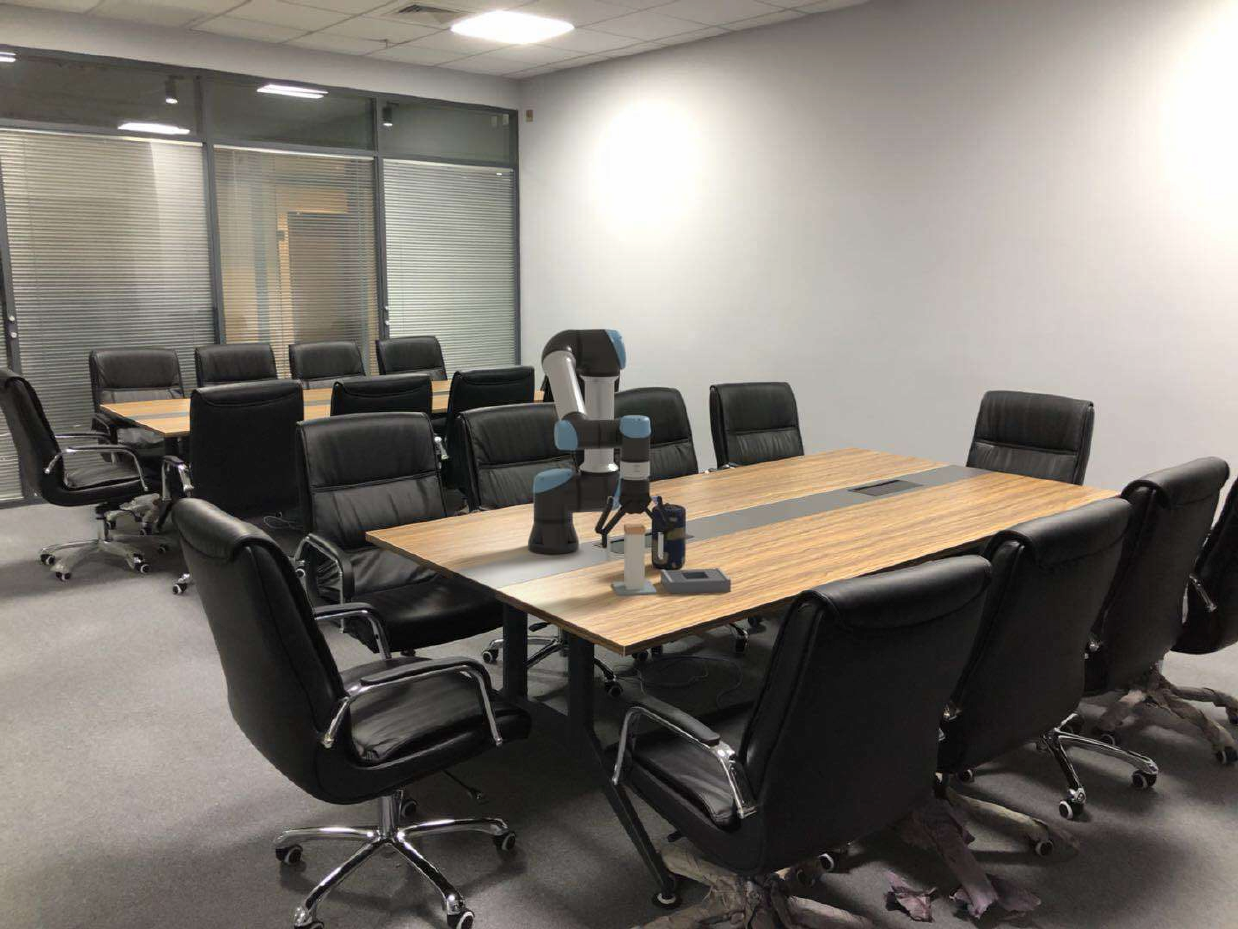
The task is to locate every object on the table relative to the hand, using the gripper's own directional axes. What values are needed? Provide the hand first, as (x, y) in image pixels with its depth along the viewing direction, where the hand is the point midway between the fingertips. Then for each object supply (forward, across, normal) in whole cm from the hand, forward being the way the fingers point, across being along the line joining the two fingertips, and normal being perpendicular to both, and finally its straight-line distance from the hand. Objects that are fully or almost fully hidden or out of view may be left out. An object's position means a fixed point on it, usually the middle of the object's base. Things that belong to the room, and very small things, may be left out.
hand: (634, 559), depth 248 cm
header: (+8, +16, 0) cm, 18 cm away
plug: (+7, 0, 0) cm, 7 cm away
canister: (+8, +13, +20) cm, 25 cm away
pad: (+8, 0, 0) cm, 8 cm away
